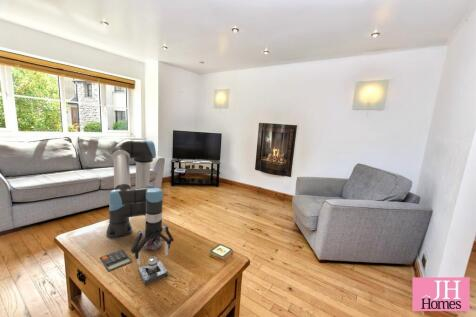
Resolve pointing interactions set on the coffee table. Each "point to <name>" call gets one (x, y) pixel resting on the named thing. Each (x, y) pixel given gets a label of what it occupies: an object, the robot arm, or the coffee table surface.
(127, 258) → the calculator
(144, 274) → the bore plate
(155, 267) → the piston
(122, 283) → the coffee table surface
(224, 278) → the coffee table surface
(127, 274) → the coffee table surface
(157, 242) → the brake caliper
